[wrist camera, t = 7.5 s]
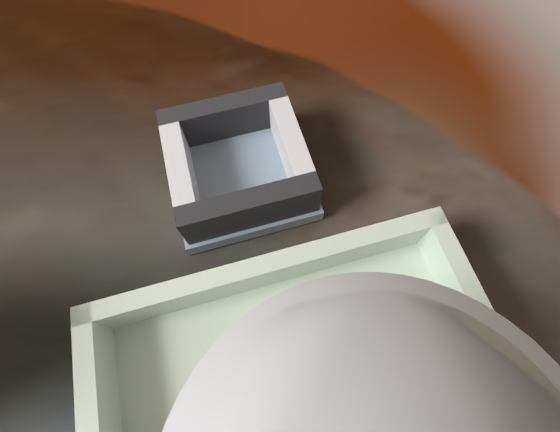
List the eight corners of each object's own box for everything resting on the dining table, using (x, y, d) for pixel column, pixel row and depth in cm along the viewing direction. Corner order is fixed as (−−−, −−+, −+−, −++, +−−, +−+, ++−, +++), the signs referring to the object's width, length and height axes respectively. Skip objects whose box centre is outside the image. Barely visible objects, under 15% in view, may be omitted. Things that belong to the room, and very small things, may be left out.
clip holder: (322, 219, 19) (328, 191, 16) (189, 255, 18) (172, 232, 16) (285, 116, 22) (284, 78, 19) (168, 143, 21) (151, 108, 19)
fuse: (376, 415, 13) (764, 542, 2) (305, 494, 12) (431, 1256, 2) (309, 339, 15) (374, 199, 4) (239, 406, 14) (46, 488, 3)
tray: (554, 513, 14) (614, 541, 11) (129, 670, 12) (88, 745, 10) (419, 230, 19) (440, 206, 16) (102, 319, 17) (70, 307, 15)
